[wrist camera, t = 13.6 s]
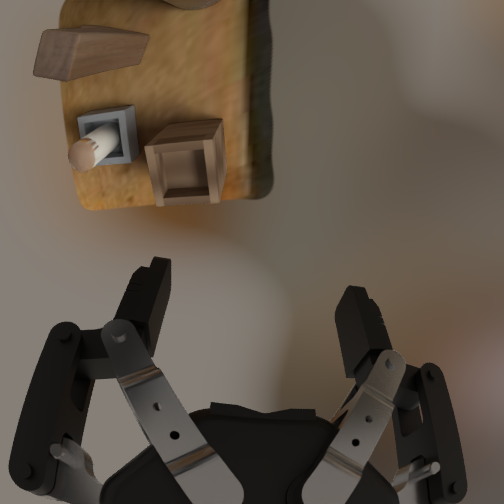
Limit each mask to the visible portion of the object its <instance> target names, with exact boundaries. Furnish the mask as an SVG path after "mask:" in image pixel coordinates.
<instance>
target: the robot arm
mask: <svg viewBox="0 0 504 504" xmlns="http://www.w3.org/2000/svg"><path fill="white" fill-rule="evenodd" d="M163 1H165V2H167V3H170V4H172V5H174V6H176V7H178V8H182V9H186V10H198V9H203V8H207V7H209V6H212V5H214V4H216V3H217V2H219V1H220V0H163ZM170 291H171V259H167V258H161V257H154V258H153V260H152V262H151V265H150V267H143V266H141V267H140V268H139V269H137V270H136V271H135V272H134V273H133V275H132V277H131V279H130V281H129V284H128V286H127V289H126V291H125V293H124V296H123V298H122V300H121V302H120V305H119V307H118V310H117V312H116V315H115V317H114V319H113V320H112V321H110V322H108V323H107V324H106V325H105V326H104V327H103V328H101V329H95V330H80V329H79V327H78V326H77V325H76V324H74V323H72V322H61V323H59V324H57V325H55V326H54V327H53V328H52V329H51V331H50V333H49V335H48V338H47V340H46V343H45V345H44V348H43V350H42V353H41V356H40V358H39V361H38V363H37V366H36V369H35V372H34V374H33V377H32V380H31V383H30V386H29V389H28V392H27V395H26V398H25V401H24V405H23V408H22V411H21V415H20V419H19V422H18V426H17V430H16V434H15V437H14V442H13V446H12V450H11V455H10V460H9V473H10V476H11V478H12V480H13V481H14V482H15V484H17V486H19V487H20V488H22V489H24V490H26V491H29V492H31V493H33V494H35V495H38V496H41V497H44V498H47V499H52V500H57V501H65V502H67V503H70V504H456V503H458V502H460V501H461V500H462V499H463V498H464V497H465V495H466V492H467V479H466V472H465V465H464V459H463V454H462V449H461V443H460V438H459V433H458V429H457V424H456V420H455V416H454V412H453V408H452V404H451V400H450V397H449V393H448V389H447V385H446V382H445V379H444V375H443V373H442V371H441V369H440V368H439V367H438V366H437V365H435V364H433V363H425V364H424V365H423V366H422V367H421V368H417V367H414V366H411V365H408V364H406V363H405V360H404V359H403V357H402V356H401V355H400V354H399V353H398V352H396V351H394V350H393V349H392V345H391V342H390V339H389V336H388V333H387V330H386V327H385V325H384V321H383V318H382V315H381V312H380V309H379V307H378V306H377V304H376V303H375V302H374V301H373V299H369V297H368V295H367V292H366V289H365V288H364V287H358V286H351V285H350V286H348V287H347V288H346V290H345V292H344V294H343V296H342V298H341V300H340V302H339V304H338V306H337V308H336V311H335V323H336V327H337V332H338V337H339V342H340V347H341V352H342V357H343V363H344V367H345V373H346V378H355V380H356V383H355V384H354V385H353V387H352V388H351V390H350V392H349V393H348V395H347V396H346V398H345V400H344V401H343V403H342V404H341V406H340V407H339V409H338V411H337V412H336V413H335V415H334V416H333V417H332V418H331V420H330V421H327V420H325V419H323V418H320V417H318V416H316V412H315V409H287V410H282V411H277V412H271V413H261V412H257V411H254V410H251V409H248V408H245V407H242V406H239V405H232V404H223V403H215V402H211V405H210V408H208V409H202V410H197V411H194V412H192V413H189V414H188V413H187V412H186V410H185V409H184V407H183V406H182V404H181V402H180V401H179V399H178V398H177V396H176V394H175V393H174V391H173V390H172V388H171V386H170V384H169V383H168V381H167V379H166V378H165V376H164V374H163V373H162V371H161V370H160V369H159V368H157V367H156V366H155V364H154V363H153V361H152V359H151V357H153V356H154V352H155V348H156V344H157V341H158V337H159V333H160V329H161V325H162V322H163V318H164V315H165V311H166V308H167V304H168V301H169V297H170ZM109 378H116V379H117V381H118V383H119V385H120V387H121V389H122V391H123V393H124V396H125V398H126V400H127V402H128V404H129V406H130V408H131V410H132V412H133V414H134V416H135V418H136V420H137V422H138V424H139V426H140V427H141V429H142V431H143V433H144V435H145V436H146V438H147V440H148V442H149V444H150V445H149V446H148V447H147V448H146V449H145V450H143V451H142V452H141V453H140V454H138V455H137V456H136V457H135V458H133V459H132V460H131V461H130V462H128V463H127V464H126V465H125V466H123V467H122V468H121V469H120V470H118V471H117V472H116V473H114V474H113V475H112V476H111V477H109V478H108V479H107V480H106V482H105V483H104V485H102V484H101V483H100V482H99V481H98V480H97V479H96V477H95V475H94V472H93V461H92V459H91V457H90V455H89V454H88V453H87V452H86V451H85V450H84V449H83V448H82V447H81V442H82V436H83V432H84V427H85V422H86V417H87V413H88V408H89V404H90V400H91V395H92V391H93V387H94V383H95V379H109ZM419 404H420V405H421V410H422V415H423V423H422V420H421V416H420V410H419ZM391 414H392V420H393V426H394V433H395V440H396V449H397V457H398V465H399V466H398V467H399V470H398V471H397V472H396V474H395V477H394V480H393V481H392V483H391V484H390V483H389V482H388V481H387V480H386V479H385V478H384V477H383V476H382V475H381V474H380V473H379V472H378V471H377V470H376V469H375V468H374V467H373V465H371V464H370V462H369V461H368V459H369V457H370V456H371V454H372V452H373V450H374V448H375V446H376V444H377V442H378V440H379V438H380V437H381V434H382V433H383V431H384V428H385V426H386V424H387V422H388V420H389V418H390V416H391Z"/></svg>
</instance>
